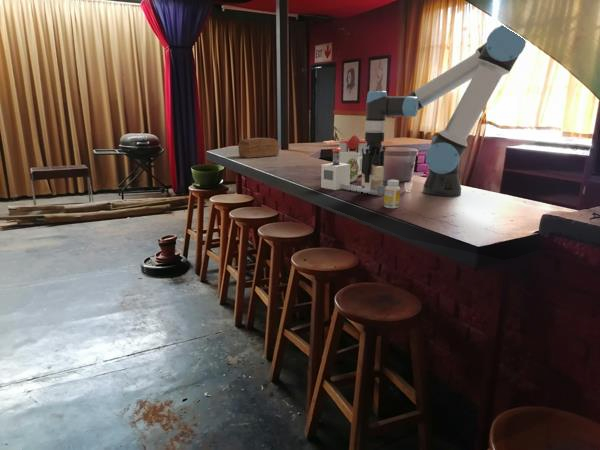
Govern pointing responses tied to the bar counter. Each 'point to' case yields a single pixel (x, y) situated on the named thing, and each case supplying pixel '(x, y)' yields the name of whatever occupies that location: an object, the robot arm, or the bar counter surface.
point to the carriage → (374, 177)
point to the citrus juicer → (353, 147)
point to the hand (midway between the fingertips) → (371, 189)
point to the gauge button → (336, 155)
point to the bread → (258, 147)
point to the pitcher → (351, 163)
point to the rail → (359, 189)
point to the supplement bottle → (392, 194)
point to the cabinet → (335, 175)
